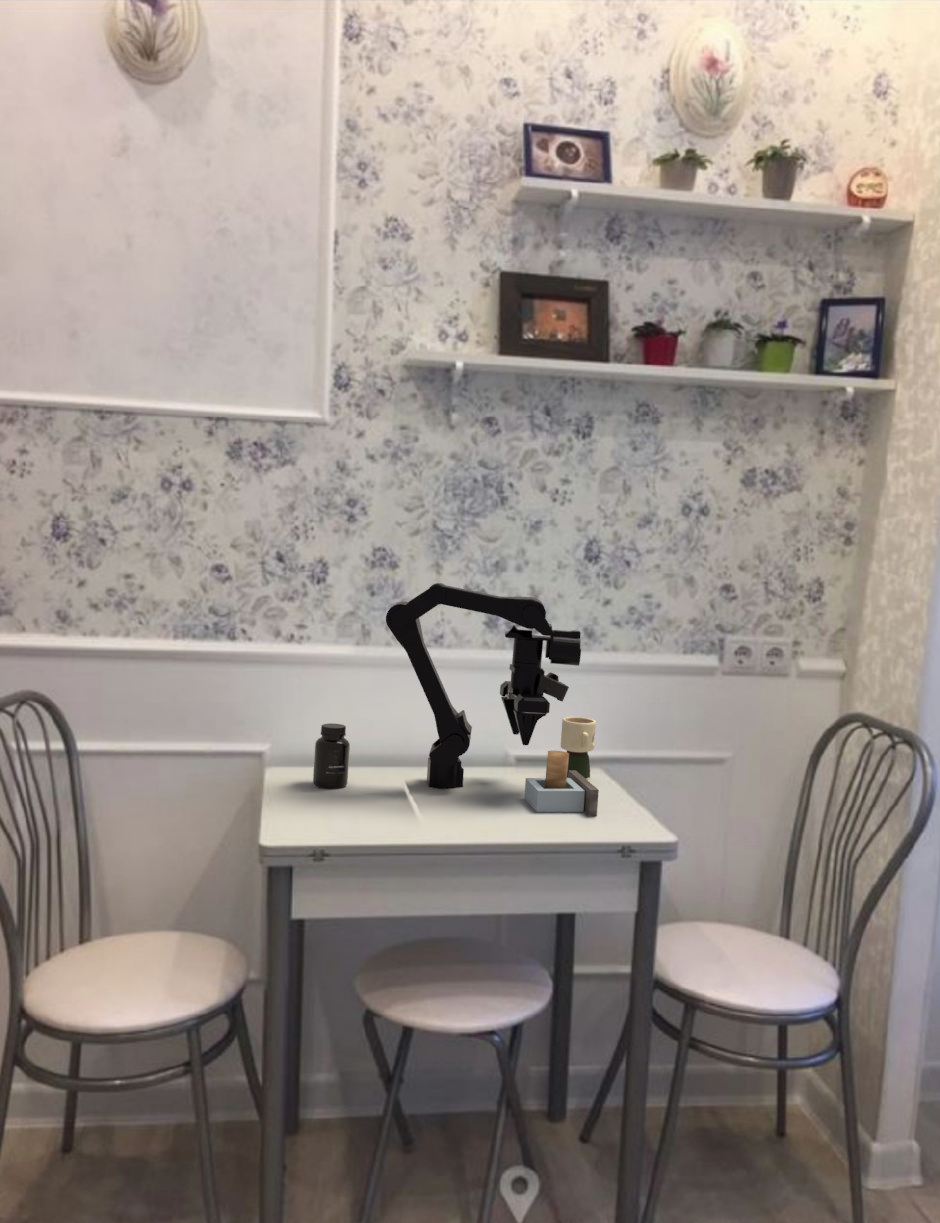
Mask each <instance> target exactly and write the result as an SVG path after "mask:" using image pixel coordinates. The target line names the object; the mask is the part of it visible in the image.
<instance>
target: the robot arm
mask: <svg viewBox="0 0 940 1223" xmlns="http://www.w3.org/2000/svg"><path fill="white" fill-rule="evenodd" d="M438 605H443V606H448V607H449V606H450V607H452V608H458V609H463V610H468V611H472V612H478V613H482V614H487V615H492V616H496V617H499V618H501V619H503V620H506V621H508V622H511V623H512V624H513V625H512V626H511V627H510V629H509V630H507V631H506V632H505V633H504V637H505V638H507V639H513V647H512V660H511V663H510V664H509V668H508V669H509V670H510V671H511V673H510V680H505V681H503V683H501V684H500V687H499V695H500V696H501V697H500V699H501V701H502V704H503V707H504V709H505V712H506V716H507V719H508V724H510V728H511V733H512V734H513V735H514V736H516V735H517V736H518V735H519V736H520V740H521V743H522V746H529V744H530V742H531V739H532V736H533V734H534V730H535V728H536V725H537V722H538V721H539V720H540V719H542V718H543V717H546V716H547V714H549V713H550V706H551V704H550V702H549V700H548V699H547V698H546V697H545V696H544V694H546V695H548V696H550V697H552V698H555V699H556V700H557V701H560V702H564V700H565V698H566V695H567V692H569V691H568V690H569V687H570V686H568V685H566V684H565V683H563V682H562V681H559V675H558V674H555V673H554V672H552V671H551V672H550V671H549V672H548V673H547V674H546V675H545V670H544V669H543V668H542V662H543V661H542V658H543V648H544V641H546V642H545V652H544V656H545V657H544V658H545V659H548V660H549V661H550V664H552V665H555V664H556V665H563V666H565V665H567V666H568V665H569V666H577V667H578V666H580V664H581V662H580V661H581V656H582V654H581V653H582V648H581V633H582V632H581V631H580V630H574V629H573V630H561V629H560V630H559V629H553V625H552V624H551V623H549V622H548V619H546V617H547V616H546V615H547V611H546V607H545V605H544V604H543V603H542V601H541V600H540V599H538V598H537V597H533V596H499V595H496V594H495V595H494V594H490V593H489V594H488V593H485V592H479V591H474V590H469V589H465V588H462V587H461V588H460V587H457V586H451V585H447V584H444V583H442V582H436V583H433V584H431V586H430V587H429V588H427V589H426V590H425V591H423V592H422V593H420V594H418V595H417V596H415V597H414V598H412V599H411V600H409V601H399V602H397V603H395V604H393V605H392V606H391V607H390V608H389V609H388V611H387V613H386V616H385V622H386V626H387V627H388V629H389V630H390V632H391V633H392V635H393V637H394V638H395V639H396V641H397V642H398V643H399V644H400V646H401V647H402V648H403V649H404V650H405V652H406V654H407V656H408V659H409V661H410V663H411V665H412V667H413V670H414V672H415V674H416V677H417V679H418V681H419V683H420V686H421V688H422V690H423V692H424V696H425V697H426V700H427V701H428V704H429V706H430V708H431V711H432V713H433V715H434V716H433V717H434V720H435V726H436V732H437V736H438V739H437V740H435V741H434V742H433V743H431V744H432V745H431V748H430V750H429V754H428V756H429V757H427V772H426V785H427V786H428V788H433V789H439V790H453V789H456V788H463V787H464V770H465V769H464V767H463V766H462V760H461V759H460V757H461V756H462V755H464V754H465V753H467V751H468V749H469V748H470V744H471V738H472V729H473V725H471V724H470V723H469V721H468V720H467V716H466V715H467V714H466V712H465V709H462V710H461V711H459V712H458V711H457V710H456V708H455V707H454V706H453V704H452V702H451V701H450V698H449V696H448V693H447V692H446V689H445V687H444V685H443V683H442V680H441V678H440V675H439V673H438V671H437V668H436V666H435V664H434V662H433V659H432V657H431V655H430V653H429V651H428V648H427V646H426V644H425V640H424V635H423V630H422V624H421V620H420V618H422V616H424V615H425V614H426V613H429V611H431V610H433V609H435V608H436V607H437V606H438ZM516 625H518V626H521V627H523V628H525V629H519V628H517V627H516ZM533 629H534V630H535V631H537V633H539V634H540V635H535V634H533Z"/></svg>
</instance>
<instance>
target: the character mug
mask: <svg viewBox="0 0 940 1223" xmlns="http://www.w3.org/2000/svg"><path fill="white" fill-rule="evenodd" d="M561 719H562V720H561V731H560V732H561V733H560V735H561V736H560V748H561V749H562V750H565V751H566V752H567V753H569V760H568V770H576V771H577V772H578V773H579V774H581V775H582V776H583V777H584V778H585V779H586V780H587V779H588V778H589V779H590V778H591V766H590V755H589V754H588V753H589V752H592V751H593V750H594V749H595V735H596V732H597V731H596V727H597V726H596V725H597V721H596V720H595V719H592V718H588V717H582V716H567V717H563V718H561ZM567 778H568V771H567Z"/></svg>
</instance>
